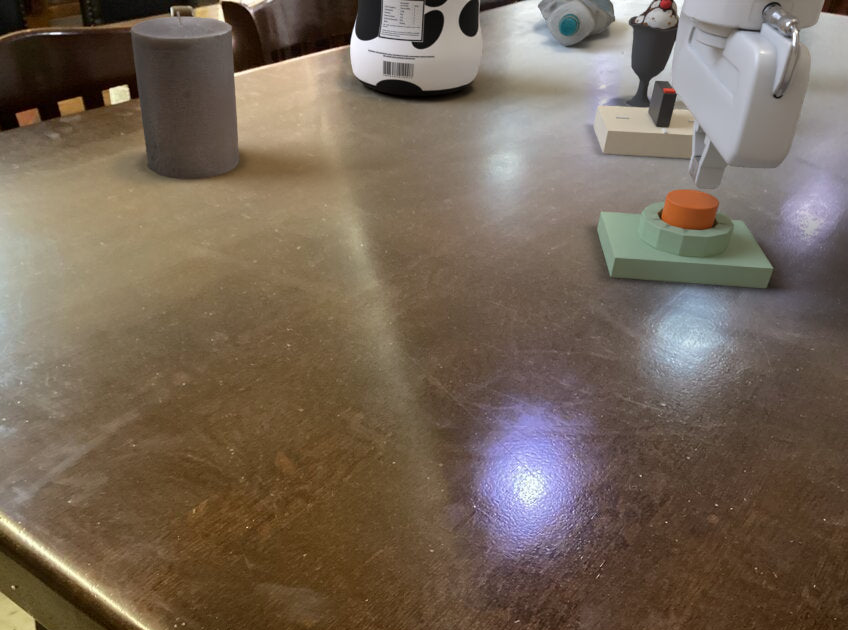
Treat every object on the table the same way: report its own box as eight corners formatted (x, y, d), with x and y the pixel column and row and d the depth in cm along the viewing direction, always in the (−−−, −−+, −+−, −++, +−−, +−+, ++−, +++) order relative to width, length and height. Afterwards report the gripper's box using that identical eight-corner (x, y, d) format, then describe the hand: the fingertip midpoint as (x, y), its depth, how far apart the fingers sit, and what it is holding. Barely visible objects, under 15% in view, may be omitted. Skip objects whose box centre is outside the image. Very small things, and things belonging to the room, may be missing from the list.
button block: (735, 243, 72) (749, 200, 69) (764, 293, 64) (781, 247, 62) (596, 234, 73) (605, 191, 71) (609, 282, 66) (619, 236, 63)
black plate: (647, 112, 92) (655, 78, 90) (660, 113, 92) (668, 78, 90) (655, 126, 88) (664, 91, 86) (669, 127, 88) (677, 91, 86)
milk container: (445, 66, 119) (457, -75, 108) (501, 99, 106) (520, -57, 95) (332, 75, 114) (333, -71, 104) (376, 111, 101) (382, -52, 90)
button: (706, 213, 68) (712, 190, 67) (717, 234, 65) (725, 210, 63) (656, 210, 68) (662, 187, 67) (665, 231, 65) (672, 206, 64)
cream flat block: (697, 136, 95) (705, 108, 93) (716, 164, 87) (725, 135, 85) (592, 130, 96) (597, 103, 94) (602, 158, 89) (608, 129, 87)
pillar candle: (129, 175, 83) (107, 17, 74) (176, 144, 91) (161, -2, 82) (215, 188, 80) (201, 27, 72) (256, 156, 88) (248, 6, 79)
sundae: (648, 118, 100) (680, -16, 91) (601, 105, 104) (627, -24, 95) (676, 108, 103) (709, -22, 95) (630, 96, 107) (657, -30, 99)
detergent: (540, 15, 147) (516, 43, 127) (550, -29, 143) (527, -7, 123) (614, 28, 144) (601, 59, 124) (626, -16, 140) (615, 8, 120)
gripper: (861, 25, 48) (785, 241, 56) (760, -33, 64) (713, 141, 72) (748, 22, 48) (689, 236, 56) (677, -34, 65) (639, 137, 73)
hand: (702, 182), depth 64 cm, fingers closed
